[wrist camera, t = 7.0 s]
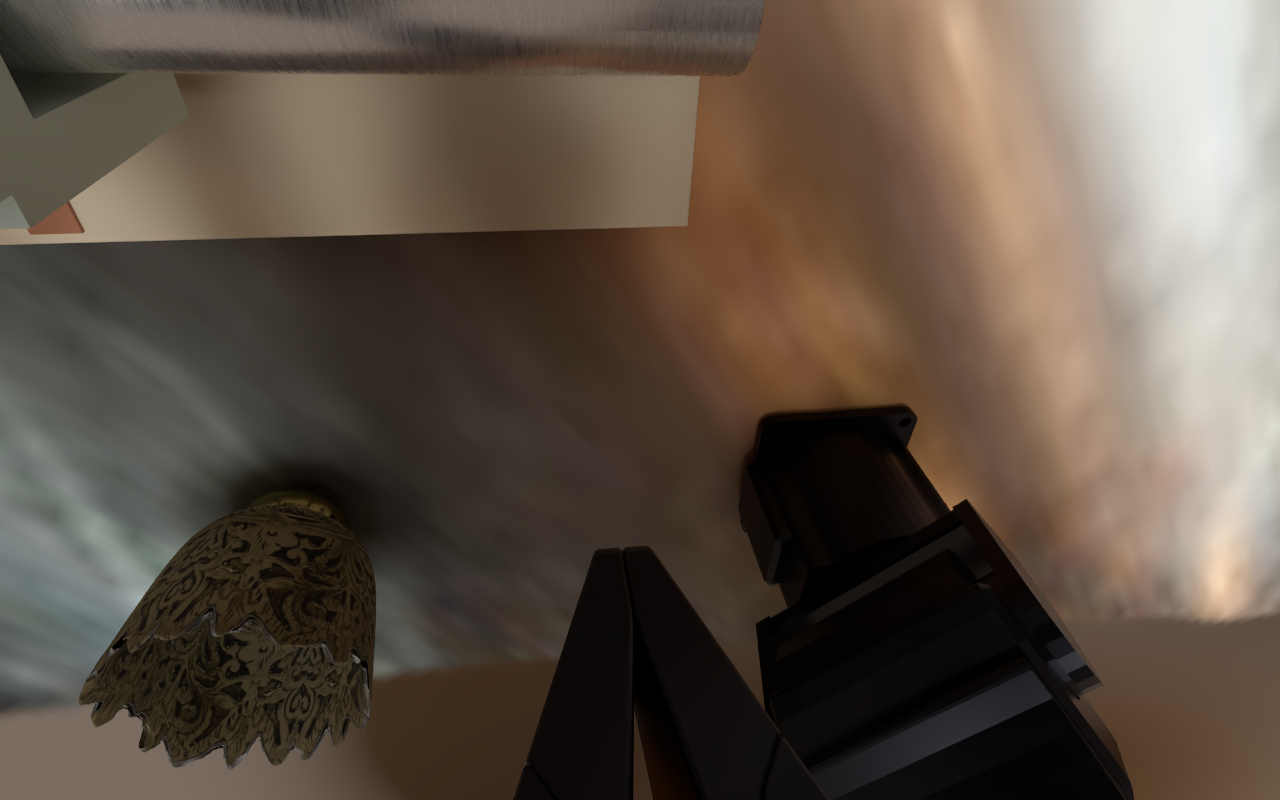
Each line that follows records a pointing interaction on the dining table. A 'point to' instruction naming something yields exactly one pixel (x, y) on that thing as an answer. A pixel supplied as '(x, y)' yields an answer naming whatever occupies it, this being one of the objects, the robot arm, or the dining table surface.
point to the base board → (397, 159)
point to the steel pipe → (381, 36)
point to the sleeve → (74, 133)
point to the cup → (249, 636)
